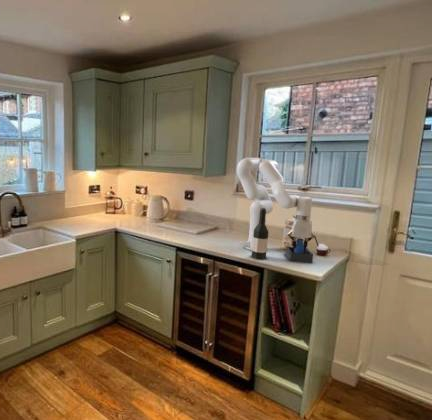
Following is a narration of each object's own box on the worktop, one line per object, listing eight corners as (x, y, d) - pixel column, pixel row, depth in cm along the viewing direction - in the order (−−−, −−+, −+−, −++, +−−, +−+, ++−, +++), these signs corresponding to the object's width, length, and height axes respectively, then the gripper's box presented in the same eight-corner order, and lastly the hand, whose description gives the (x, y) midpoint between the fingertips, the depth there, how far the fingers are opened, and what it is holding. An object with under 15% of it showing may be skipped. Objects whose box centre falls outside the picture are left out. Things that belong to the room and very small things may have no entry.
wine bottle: (248, 255, 219) (253, 207, 214) (261, 255, 220) (266, 207, 214) (255, 259, 211) (259, 209, 205) (268, 259, 212) (273, 209, 206)
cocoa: (330, 254, 223) (332, 236, 221) (328, 257, 218) (331, 238, 216) (312, 252, 229) (315, 233, 227) (311, 254, 224) (313, 235, 222)
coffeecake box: (290, 251, 230) (294, 221, 226) (281, 248, 236) (284, 219, 233) (306, 248, 236) (310, 219, 232) (297, 245, 242) (300, 217, 239)
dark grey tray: (290, 261, 210) (291, 252, 209) (285, 254, 223) (285, 246, 222) (312, 262, 207) (313, 254, 206) (305, 256, 220) (306, 248, 219)
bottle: (294, 259, 213) (296, 239, 211) (292, 256, 218) (294, 237, 216) (303, 260, 212) (306, 240, 210) (301, 257, 217) (303, 238, 214)
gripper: (288, 218, 209) (285, 248, 212) (320, 220, 205) (317, 250, 208) (285, 215, 216) (282, 244, 219) (316, 217, 212) (313, 247, 215)
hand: (299, 247), depth 214 cm, fingers closed on bottle, 5 cm apart
